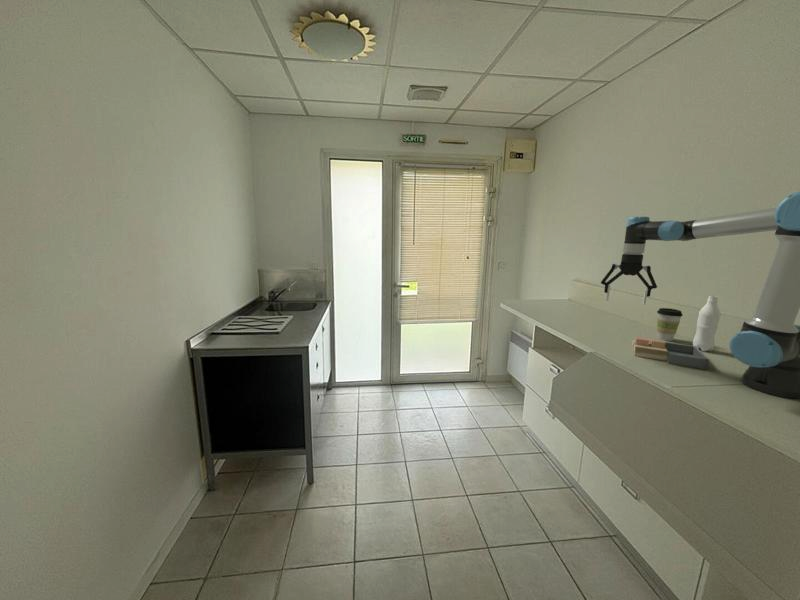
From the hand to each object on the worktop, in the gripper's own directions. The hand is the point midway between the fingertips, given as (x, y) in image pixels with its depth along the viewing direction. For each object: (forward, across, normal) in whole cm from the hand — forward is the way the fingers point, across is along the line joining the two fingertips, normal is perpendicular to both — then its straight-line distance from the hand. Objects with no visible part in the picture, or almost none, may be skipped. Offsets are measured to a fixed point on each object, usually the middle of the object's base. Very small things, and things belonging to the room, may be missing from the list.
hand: (625, 301), depth 145 cm
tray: (+22, -23, 0) cm, 32 cm away
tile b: (+18, -14, 0) cm, 23 cm away
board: (+22, -11, 0) cm, 25 cm away
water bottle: (+22, -34, -20) cm, 45 cm away
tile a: (+18, -8, 0) cm, 20 cm away
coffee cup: (+22, -22, -30) cm, 43 cm away
